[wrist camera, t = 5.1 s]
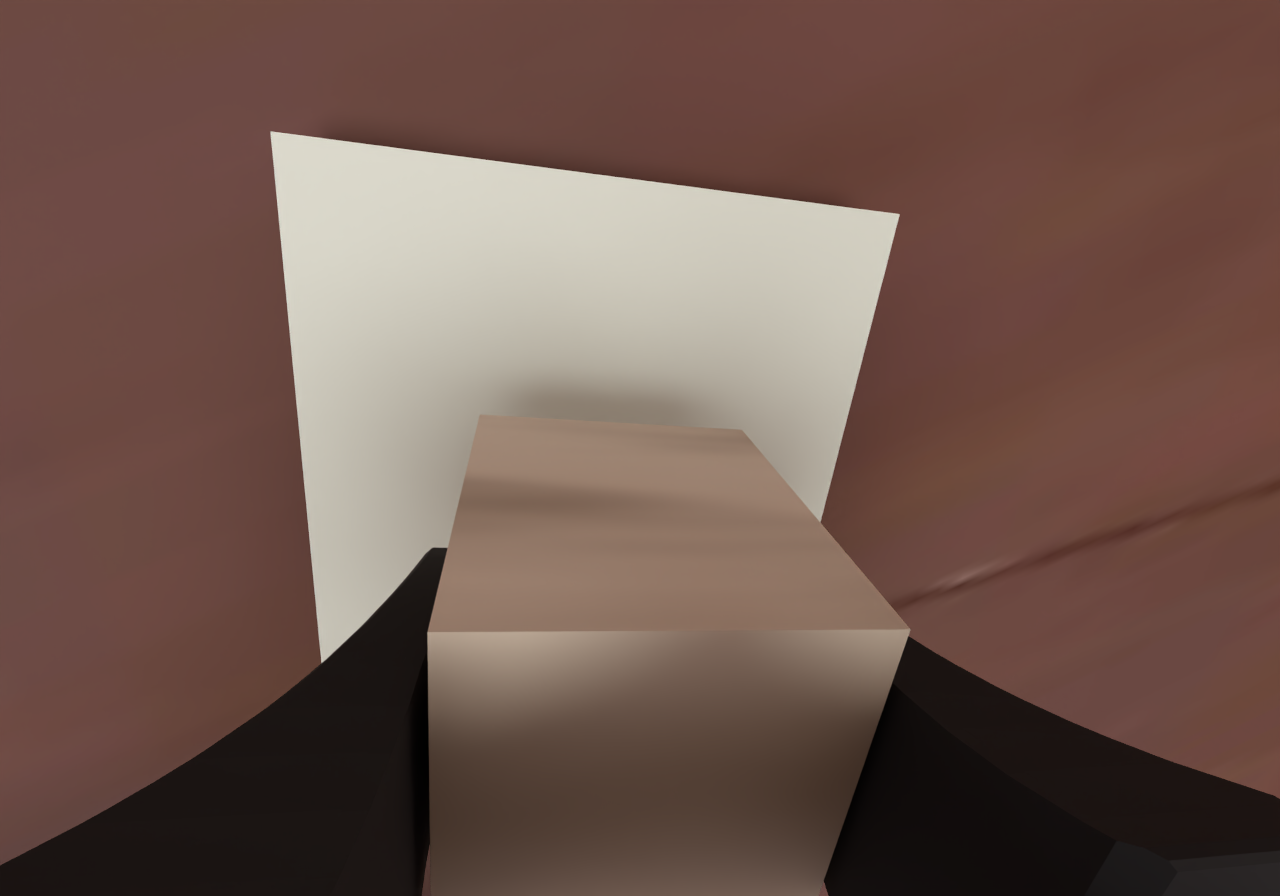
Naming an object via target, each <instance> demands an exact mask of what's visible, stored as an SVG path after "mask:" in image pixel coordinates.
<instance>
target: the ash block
mask: <svg viewBox="0 0 1280 896" xmlns="http://www.w3.org/2000/svg"><path fill="white" fill-rule="evenodd" d="M910 630H911V629H910V628H909V627H908V626H907V625H906V623H905V622H904V621H903V620H902V619H901V618H900V616H899V615H898V614H897V613H896V612H895V610H894V609H893V608H892V607H891V606H890V605H889V603H888V602H887V601H886V600H885V599H884V597H883V596H882V595H881V594H880V593H879V591H878V590H877V589H876V588H875V587H874V586H873V584H872V583H871V582H870V581H869V580H868V578H867V577H866V576H865V575H864V574H863V573H862V571H861V570H860V569H859V568H858V567H857V565H856V564H855V563H854V562H853V561H852V560H851V558H850V557H849V556H848V555H847V554H846V552H845V551H844V550H843V549H842V548H841V546H840V545H839V544H838V543H837V542H836V541H835V539H834V538H833V537H832V536H831V535H830V533H829V532H828V531H827V530H826V529H825V528H824V526H823V525H822V524H821V523H820V522H819V520H818V519H817V518H816V517H815V516H814V515H813V513H812V512H811V511H810V510H809V509H808V507H807V506H806V505H805V504H804V503H803V501H802V500H801V499H800V498H799V497H798V496H797V494H796V493H795V492H794V491H793V490H792V488H791V487H790V486H789V485H788V484H787V483H786V481H785V480H784V479H783V478H782V477H781V475H780V474H779V473H778V472H777V471H776V470H775V468H774V467H773V466H772V465H771V464H770V462H769V461H768V460H767V459H766V458H765V456H764V455H763V454H762V453H761V452H760V451H759V449H758V448H757V447H756V446H755V445H754V443H753V442H752V441H751V440H750V439H749V438H748V436H747V435H746V434H745V433H744V432H743V430H738V429H721V428H704V427H687V426H669V425H652V424H635V423H618V422H601V421H584V420H566V419H549V418H532V417H515V416H498V415H481V414H480V416H479V420H478V424H477V428H476V432H475V436H474V440H473V445H472V449H471V453H470V457H469V461H468V465H467V470H466V474H465V478H464V482H463V486H462V490H461V495H460V499H459V503H458V507H457V511H456V515H455V520H454V524H453V528H452V532H451V536H450V540H449V545H448V549H447V553H446V557H445V561H444V565H443V570H442V574H441V578H440V582H439V586H438V590H437V595H436V599H435V603H434V607H433V611H432V615H431V620H430V624H429V628H428V632H427V636H428V719H429V801H430V884H431V896H819V893H820V890H821V887H822V884H823V881H824V878H825V875H826V872H827V870H828V867H829V864H830V861H831V858H832V855H833V852H834V849H835V846H836V844H837V841H838V838H839V835H840V832H841V829H842V826H843V823H844V820H845V818H846V815H847V812H848V809H849V806H850V803H851V800H852V797H853V794H854V791H855V789H856V786H857V783H858V780H859V777H860V774H861V771H862V768H863V765H864V763H865V760H866V757H867V754H868V751H869V748H870V745H871V742H872V739H873V737H874V734H875V731H876V728H877V725H878V722H879V719H880V716H881V713H882V711H883V708H884V705H885V702H886V699H887V696H888V693H889V690H890V687H891V685H892V682H893V679H894V676H895V673H896V670H897V667H898V664H899V661H900V658H901V656H902V653H903V650H904V647H905V644H906V641H907V638H908V635H909V632H910Z"/></svg>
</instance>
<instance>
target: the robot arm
mask: <svg viewBox="0 0 1280 896" xmlns="http://www.w3.org/2000/svg"><path fill="white" fill-rule="evenodd" d="M447 549H448V548H436V547H433V548H431V549H430V550H429V551H428V552H427V553H425V555H424V556H423V557H422V559H421V560H420V561H419V562H418V564H417V565H416V566H415V567H414V569H413V570H412V571H411V572H410V573H409V575H408V576H407V577H406V578H405V579H404V581H403V582H402V583H401V584H400V585H399V586H398V587H397V589H396V590H395V591H394V592H393V593H392V594H391V595H390V596H389V597H388V598H387V600H386V601H385V602H384V603H383V604H382V605H381V606H380V607H379V608H378V609H377V610H376V611H375V612H374V613H373V614H372V616H371V617H370V618H369V619H368V620H367V621H366V622H365V623H364V624H363V625H362V626H361V627H360V628H359V629H358V630H357V631H356V632H355V633H353V634H352V635H351V636H350V637H349V638H348V639H347V640H346V641H345V642H344V643H343V644H342V645H341V646H340V647H339V648H338V649H337V650H336V651H334V652H333V653H332V654H331V655H330V656H329V657H328V658H327V659H326V660H325V661H324V662H322V663H321V664H320V665H319V666H318V667H317V668H316V669H314V670H313V671H312V672H311V673H310V674H309V675H307V676H306V677H305V678H304V679H303V680H301V681H300V682H299V683H298V684H297V685H295V686H294V687H293V688H291V689H290V690H289V691H288V692H286V693H285V694H284V695H283V696H281V697H280V698H279V699H278V700H276V701H275V702H274V703H272V704H271V705H270V706H269V707H267V708H266V709H264V710H263V711H262V712H260V713H259V714H257V715H256V716H255V717H253V718H252V719H250V720H249V721H247V722H246V723H244V724H243V725H241V726H240V727H238V728H237V729H236V730H234V731H233V732H231V733H230V734H228V735H227V736H225V737H224V738H222V739H221V740H220V741H218V742H217V743H215V744H214V745H212V746H211V747H209V748H208V749H206V750H205V751H204V752H202V753H200V754H199V755H197V756H196V757H194V758H193V759H191V760H189V761H188V762H186V763H185V764H183V765H181V766H180V767H178V768H176V769H175V770H173V771H172V772H170V773H168V774H167V775H165V776H163V777H162V778H160V779H159V780H157V781H155V782H154V783H152V784H150V785H148V786H147V787H145V788H143V789H141V790H140V791H138V792H136V793H135V794H133V795H131V796H129V797H128V798H126V799H124V800H122V801H121V802H119V803H117V804H116V805H114V806H112V807H110V808H109V809H107V810H105V811H103V812H101V813H100V814H98V815H96V816H94V817H92V818H91V819H89V820H87V821H85V822H83V823H81V824H80V825H78V826H76V827H74V828H72V829H70V830H68V831H66V832H64V833H62V834H60V835H58V836H56V837H54V838H53V839H51V840H49V841H47V842H45V843H43V844H41V845H39V846H37V847H35V848H33V849H31V850H29V851H27V852H26V853H24V854H22V855H20V856H18V857H16V858H14V859H12V860H10V861H8V862H6V863H4V864H2V865H0V896H421V895H422V888H423V881H424V874H425V867H426V861H427V856H428V850H429V845H430V801H429V719H428V636H427V632H428V628H429V624H430V620H431V615H432V611H433V607H434V603H435V599H436V595H437V590H438V586H439V582H440V578H441V574H442V570H443V565H444V561H445V557H446V553H447ZM824 883H825V886H826V889H827V892H828V895H829V896H1280V799H1279V798H1277V797H1275V796H1273V795H1270V794H1267V793H1264V792H1261V791H1258V790H1255V789H1252V788H1249V787H1246V786H1243V785H1240V784H1237V783H1234V782H1231V781H1228V780H1225V779H1222V778H1219V777H1216V776H1213V775H1210V774H1207V773H1204V772H1201V771H1198V770H1195V769H1192V768H1189V767H1186V766H1183V765H1180V764H1177V763H1174V762H1171V761H1168V760H1166V759H1163V758H1160V757H1157V756H1155V755H1152V754H1150V753H1147V752H1144V751H1142V750H1139V749H1137V748H1134V747H1132V746H1129V745H1126V744H1124V743H1121V742H1119V741H1116V740H1113V739H1111V738H1108V737H1106V736H1103V735H1101V734H1099V733H1096V732H1094V731H1091V730H1089V729H1087V728H1084V727H1082V726H1080V725H1077V724H1075V723H1072V722H1070V721H1068V720H1066V719H1064V718H1061V717H1059V716H1057V715H1055V714H1053V713H1050V712H1048V711H1046V710H1044V709H1042V708H1040V707H1037V706H1035V705H1033V704H1031V703H1029V702H1027V701H1024V700H1022V699H1020V698H1018V697H1016V696H1014V695H1012V694H1010V693H1008V692H1006V691H1004V690H1002V689H1000V688H998V687H996V686H994V685H992V684H990V683H989V682H987V681H985V680H983V679H981V678H979V677H977V676H976V675H974V674H972V673H970V672H968V671H966V670H964V669H963V668H961V667H959V666H957V665H955V664H953V663H952V662H950V661H948V660H947V659H945V658H943V657H941V656H940V655H938V654H936V653H935V652H933V651H931V650H930V649H928V648H926V647H925V646H923V645H922V644H920V643H919V642H917V641H915V640H914V639H912V638H911V637H909V636H908V638H907V641H906V644H905V647H904V650H903V653H902V656H901V658H900V661H899V664H898V667H897V670H896V673H895V676H894V679H893V682H892V685H891V687H890V690H889V693H888V696H887V699H886V702H885V705H884V708H883V711H882V713H881V716H880V719H879V722H878V725H877V728H876V731H875V734H874V737H873V739H872V742H871V745H870V748H869V751H868V754H867V757H866V760H865V763H864V765H863V768H862V771H861V774H860V777H859V780H858V783H857V786H856V789H855V791H854V794H853V797H852V800H851V803H850V806H849V809H848V812H847V815H846V818H845V820H844V823H843V826H842V829H841V832H840V835H839V838H838V841H837V844H836V846H835V849H834V852H833V855H832V858H831V861H830V864H829V867H828V870H827V872H826V875H825V878H824Z"/></svg>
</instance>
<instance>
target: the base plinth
mask: <svg viewBox="0 0 1280 896" xmlns="http://www.w3.org/2000/svg"><path fill="white" fill-rule="evenodd" d="M271 141H272V152H273V162H274V173H275V183H276V193H277V204H278V214H279V225H280V235H281V246H282V256H283V267H284V277H285V287H286V298H287V308H288V319H289V329H290V340H291V350H292V360H293V371H294V381H295V392H296V402H297V413H298V423H299V433H300V444H301V454H302V465H303V475H304V486H305V496H306V506H307V517H308V527H309V538H310V548H311V559H312V569H313V579H314V590H315V600H316V611H317V621H318V632H319V642H320V652H321V663H322V662H324V661H325V660H326V659H327V658H328V657H329V656H330V655H331V654H332V653H333V652H334V651H336V650H337V649H338V648H339V647H340V646H341V645H342V644H343V643H344V642H345V641H346V640H347V639H348V638H349V637H350V636H351V635H352V634H353V633H355V632H356V631H357V630H358V629H359V628H360V627H361V626H362V625H363V624H364V623H365V622H366V621H367V620H368V619H369V618H370V617H371V616H372V614H373V613H374V612H375V611H376V610H377V609H378V608H379V607H380V606H381V605H382V604H383V603H384V602H385V601H386V600H387V598H388V597H389V596H390V595H391V594H392V593H393V592H394V591H395V590H396V589H397V587H398V586H399V585H400V584H401V583H402V582H403V581H404V579H405V578H406V577H407V576H408V575H409V573H410V572H411V571H412V570H413V569H414V567H415V566H416V565H417V564H418V562H419V561H420V560H421V559H422V557H423V556H424V555H425V553H427V552H428V551H429V550H430V549H431V548H433V547H436V548H448V545H449V540H450V536H451V532H452V528H453V524H454V520H455V515H456V511H457V507H458V503H459V499H460V495H461V490H462V486H463V482H464V478H465V474H466V470H467V465H468V461H469V457H470V453H471V449H472V445H473V440H474V436H475V432H476V428H477V424H478V420H479V416H480V414H481V415H498V416H515V417H532V418H549V419H566V420H584V421H601V422H618V423H635V424H652V425H669V426H687V427H704V428H721V429H738V430H743V432H744V433H745V434H746V435H747V436H748V438H749V439H750V440H751V441H752V442H753V443H754V445H755V446H756V447H757V448H758V449H759V451H760V452H761V453H762V454H763V455H764V456H765V458H766V459H767V460H768V461H769V462H770V464H771V465H772V466H773V467H774V468H775V470H776V471H777V472H778V473H779V474H780V475H781V477H782V478H783V479H784V480H785V481H786V483H787V484H788V485H789V486H790V487H791V488H792V490H793V491H794V492H795V493H796V494H797V496H798V497H799V498H800V499H801V500H802V501H803V503H804V504H805V505H806V506H807V507H808V509H809V510H810V511H811V512H812V513H813V515H814V516H815V517H816V518H817V519H818V520H819V522H821V518H822V514H823V510H824V506H825V502H826V498H827V495H828V491H829V487H830V483H831V479H832V475H833V471H834V467H835V463H836V460H837V456H838V452H839V448H840V444H841V440H842V436H843V432H844V428H845V425H846V421H847V417H848V413H849V409H850V405H851V401H852V397H853V393H854V390H855V386H856V382H857V378H858V374H859V370H860V366H861V362H862V359H863V355H864V351H865V347H866V343H867V339H868V335H869V331H870V327H871V324H872V320H873V316H874V312H875V308H876V304H877V300H878V296H879V292H880V289H881V285H882V281H883V277H884V273H885V269H886V265H887V261H888V257H889V254H890V250H891V246H892V242H893V238H894V234H895V230H896V226H897V222H898V219H899V215H900V214H894V213H886V212H878V211H871V210H863V209H856V208H848V207H840V206H833V205H825V204H818V203H810V202H802V201H795V200H787V199H780V198H772V197H764V196H757V195H749V194H742V193H734V192H727V191H719V190H711V189H704V188H696V187H689V186H681V185H673V184H666V183H658V182H651V181H643V180H635V179H628V178H620V177H613V176H605V175H597V174H590V173H582V172H575V171H567V170H559V169H552V168H544V167H537V166H529V165H521V164H514V163H506V162H499V161H491V160H484V159H476V158H468V157H461V156H453V155H446V154H438V153H430V152H423V151H415V150H408V149H400V148H392V147H385V146H377V145H370V144H362V143H354V142H347V141H339V140H332V139H324V138H316V137H309V136H301V135H294V134H286V133H279V132H271Z"/></svg>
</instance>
